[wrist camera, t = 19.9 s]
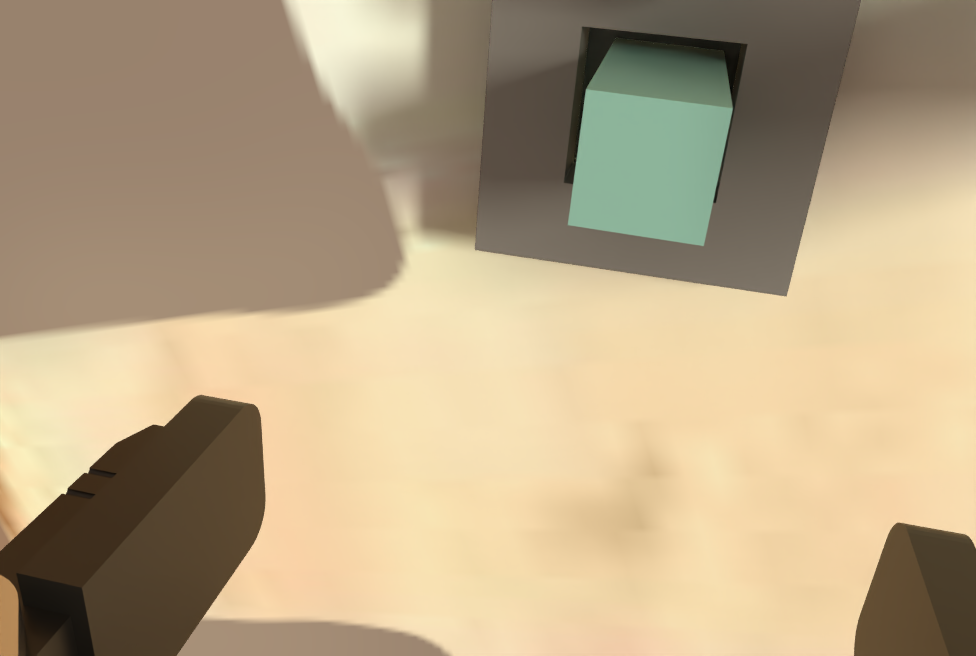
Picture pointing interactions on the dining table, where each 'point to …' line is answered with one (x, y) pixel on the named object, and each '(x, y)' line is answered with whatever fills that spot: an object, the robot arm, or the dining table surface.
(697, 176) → the teal flat-sided block
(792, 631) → the dining table surface
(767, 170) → the socket block
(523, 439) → the dining table surface
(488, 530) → the dining table surface
